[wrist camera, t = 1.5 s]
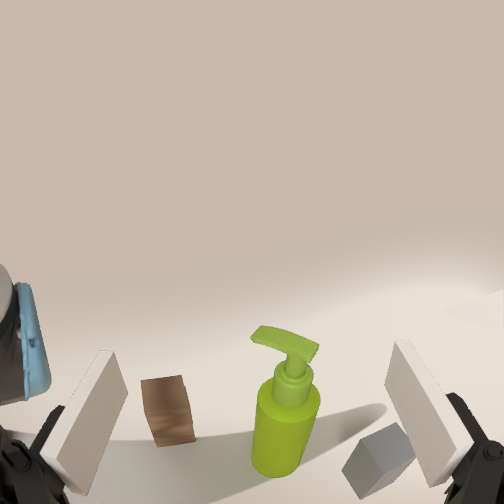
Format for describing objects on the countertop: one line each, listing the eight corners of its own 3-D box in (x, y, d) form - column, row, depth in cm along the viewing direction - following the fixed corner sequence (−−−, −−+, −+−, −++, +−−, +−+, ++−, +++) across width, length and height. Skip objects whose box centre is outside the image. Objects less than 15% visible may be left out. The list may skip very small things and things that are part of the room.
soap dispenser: (259, 429, 37) (271, 309, 28) (307, 450, 34) (345, 334, 25) (235, 461, 32) (236, 346, 24) (286, 485, 29) (320, 380, 21)
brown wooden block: (157, 447, 33) (144, 413, 30) (152, 417, 37) (140, 380, 34) (196, 441, 35) (190, 406, 31) (188, 412, 39) (182, 374, 36)
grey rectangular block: (360, 499, 27) (384, 473, 23) (341, 470, 31) (360, 439, 27) (393, 481, 28) (421, 452, 25) (374, 454, 33) (397, 421, 29)
